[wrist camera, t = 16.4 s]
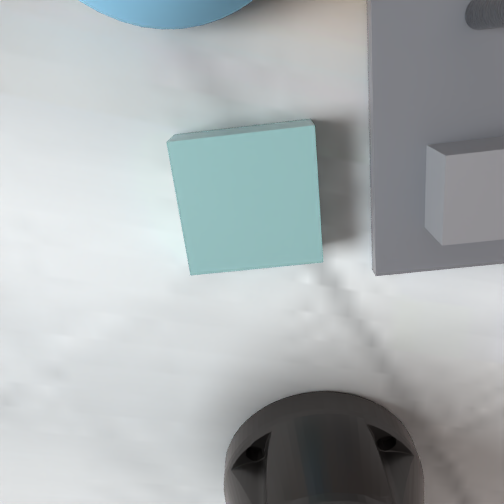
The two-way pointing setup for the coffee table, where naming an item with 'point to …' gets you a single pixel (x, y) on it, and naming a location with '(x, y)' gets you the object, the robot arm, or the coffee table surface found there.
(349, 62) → the coffee table surface
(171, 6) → the sugar bowl
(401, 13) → the grey base plate
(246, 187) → the lid
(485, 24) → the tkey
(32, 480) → the coffee table surface
